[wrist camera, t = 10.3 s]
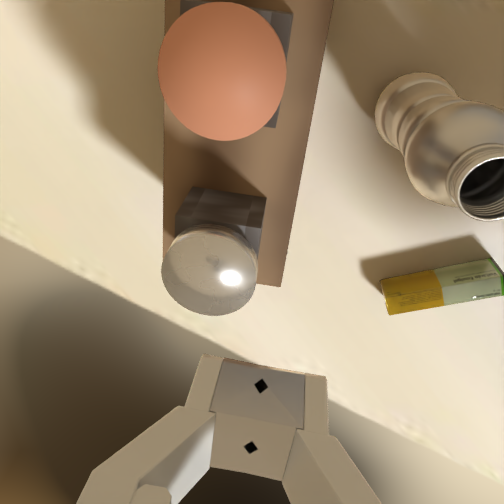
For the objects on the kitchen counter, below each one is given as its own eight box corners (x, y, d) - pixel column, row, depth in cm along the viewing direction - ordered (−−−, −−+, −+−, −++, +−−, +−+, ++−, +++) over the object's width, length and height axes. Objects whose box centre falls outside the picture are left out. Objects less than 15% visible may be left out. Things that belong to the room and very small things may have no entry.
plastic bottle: (378, 65, 37) (444, 118, 20) (458, 71, 37) (595, 131, 19) (364, 138, 40) (410, 239, 23) (437, 144, 40) (538, 252, 23)
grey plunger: (268, 200, 30) (261, 244, 25) (258, 269, 34) (250, 322, 28) (187, 188, 31) (161, 228, 25) (184, 258, 34) (161, 307, 28)
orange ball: (297, 9, 24) (295, 11, 18) (281, 118, 27) (275, 148, 21) (191, -5, 24) (157, -7, 18) (187, 105, 27) (157, 131, 21)
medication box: (493, 254, 45) (508, 274, 42) (494, 275, 46) (509, 296, 43) (378, 277, 48) (384, 298, 45) (382, 296, 49) (388, 318, 46)
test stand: (327, -18, 34) (346, -33, 20) (285, 223, 46) (277, 326, 31) (206, -34, 35) (135, -61, 20) (194, 209, 46) (143, 305, 31)
